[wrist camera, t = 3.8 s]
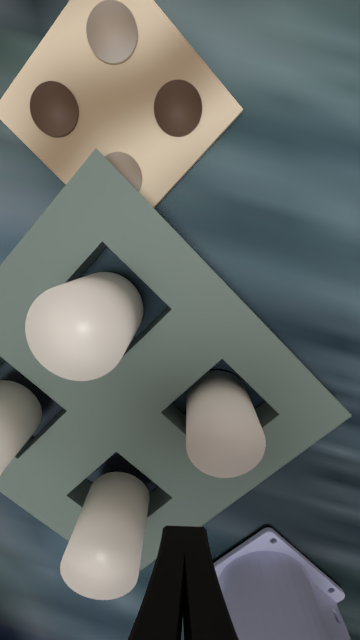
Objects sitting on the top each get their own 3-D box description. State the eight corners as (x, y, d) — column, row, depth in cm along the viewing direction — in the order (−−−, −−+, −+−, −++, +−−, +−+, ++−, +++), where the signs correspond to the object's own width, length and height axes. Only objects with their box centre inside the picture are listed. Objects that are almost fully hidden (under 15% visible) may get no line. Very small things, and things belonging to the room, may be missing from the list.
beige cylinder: (260, 399, 19) (282, 446, 14) (215, 435, 20) (223, 490, 15) (218, 358, 18) (228, 395, 14) (173, 397, 19) (169, 444, 15)
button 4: (158, 309, 16) (147, 335, 11) (110, 357, 16) (82, 399, 12) (103, 255, 15) (68, 261, 11) (55, 308, 16) (4, 334, 11)
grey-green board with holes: (335, 397, 19) (351, 415, 17) (130, 553, 23) (124, 581, 21) (107, 159, 16) (95, 148, 14) (-87, 391, 20) (-116, 408, 18)
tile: (241, 112, 15) (243, 107, 14) (124, 241, 17) (122, 241, 16) (110, -47, 13) (107, -60, 13) (-3, 114, 15) (-11, 109, 15)
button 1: (162, 497, 19) (154, 573, 15) (121, 529, 20) (103, 610, 15) (117, 461, 18) (94, 529, 14) (76, 495, 19) (44, 570, 15)
